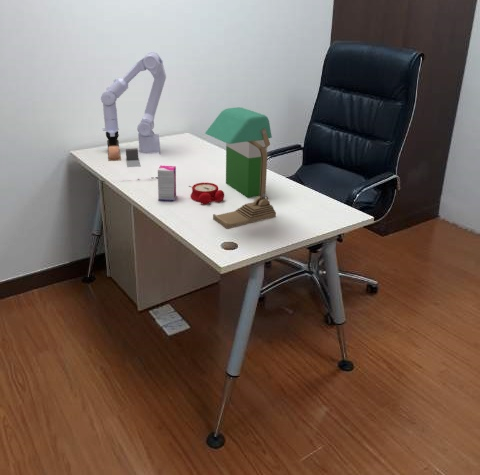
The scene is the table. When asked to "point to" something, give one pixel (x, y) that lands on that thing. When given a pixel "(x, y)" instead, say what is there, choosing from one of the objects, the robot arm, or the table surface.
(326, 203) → the table surface
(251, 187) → the hardback book
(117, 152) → the terracotta canister
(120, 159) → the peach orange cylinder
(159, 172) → the supplement box
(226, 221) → the banker's lamp
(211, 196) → the alarm clock
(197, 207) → the table surface
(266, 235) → the table surface
